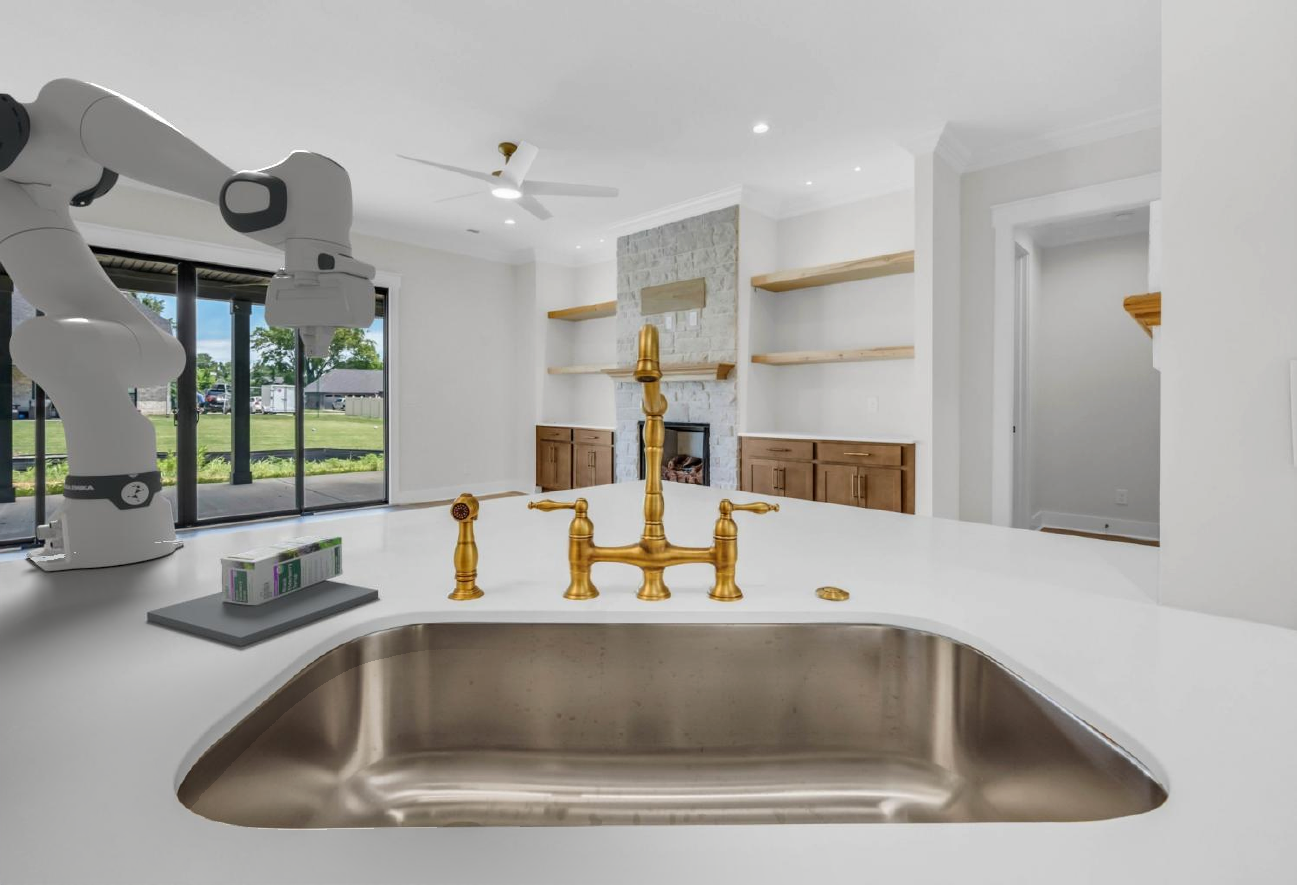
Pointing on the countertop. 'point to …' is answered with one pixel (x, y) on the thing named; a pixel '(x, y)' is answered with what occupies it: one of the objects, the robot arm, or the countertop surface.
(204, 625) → the slate mat
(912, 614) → the countertop surface
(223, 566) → the syrup box
